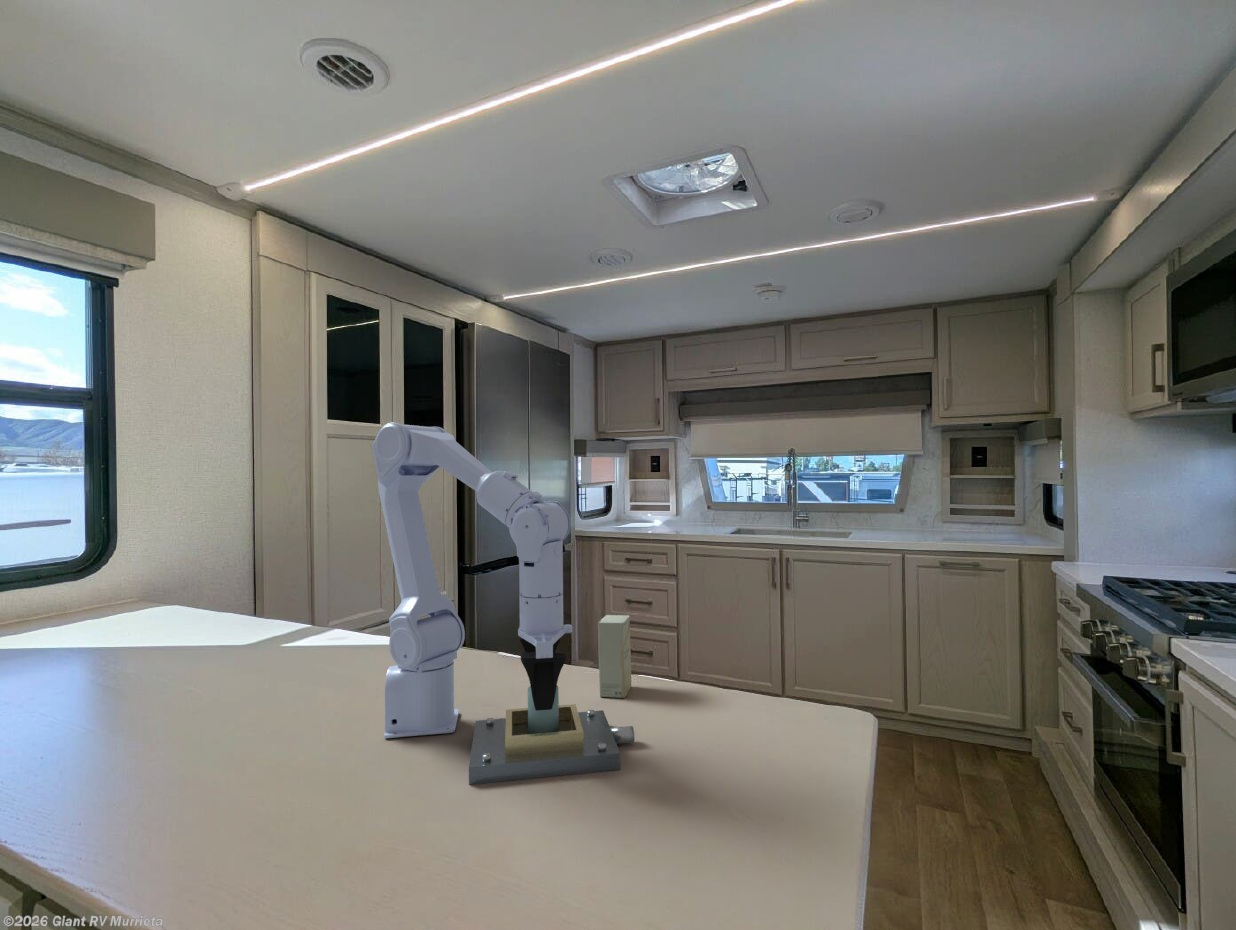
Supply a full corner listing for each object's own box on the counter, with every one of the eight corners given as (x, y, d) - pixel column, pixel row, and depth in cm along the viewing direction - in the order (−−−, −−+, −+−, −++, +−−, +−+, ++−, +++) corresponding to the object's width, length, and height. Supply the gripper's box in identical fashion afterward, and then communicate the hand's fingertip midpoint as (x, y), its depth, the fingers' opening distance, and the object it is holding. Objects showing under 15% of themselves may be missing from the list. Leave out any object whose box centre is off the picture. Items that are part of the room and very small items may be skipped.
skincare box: (625, 699, 98) (623, 623, 98) (598, 697, 99) (597, 622, 99) (631, 685, 104) (630, 614, 104) (606, 684, 105) (605, 613, 105)
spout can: (528, 742, 77) (527, 685, 77) (527, 729, 81) (527, 675, 81) (560, 739, 78) (559, 682, 78) (557, 727, 82) (557, 673, 82)
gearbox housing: (468, 784, 71) (468, 749, 71) (475, 735, 85) (475, 706, 85) (644, 767, 75) (643, 734, 75) (623, 722, 88) (623, 694, 88)
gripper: (577, 603, 73) (578, 716, 73) (566, 583, 88) (567, 677, 87) (518, 606, 72) (519, 721, 72) (517, 585, 86) (518, 681, 86)
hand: (542, 698), depth 80 cm, fingers open, 7 cm apart
